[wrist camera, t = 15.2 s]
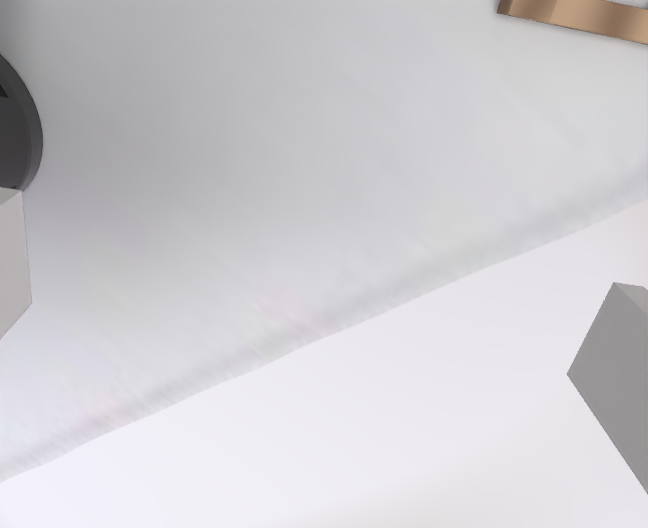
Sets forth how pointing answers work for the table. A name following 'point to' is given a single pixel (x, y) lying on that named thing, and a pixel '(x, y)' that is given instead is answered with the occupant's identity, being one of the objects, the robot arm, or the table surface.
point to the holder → (584, 16)
